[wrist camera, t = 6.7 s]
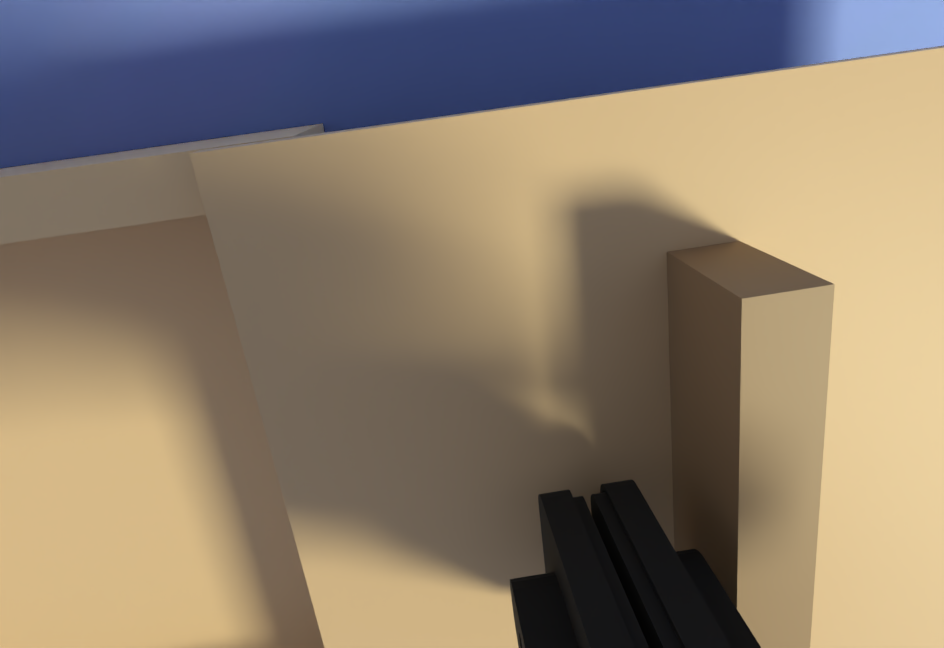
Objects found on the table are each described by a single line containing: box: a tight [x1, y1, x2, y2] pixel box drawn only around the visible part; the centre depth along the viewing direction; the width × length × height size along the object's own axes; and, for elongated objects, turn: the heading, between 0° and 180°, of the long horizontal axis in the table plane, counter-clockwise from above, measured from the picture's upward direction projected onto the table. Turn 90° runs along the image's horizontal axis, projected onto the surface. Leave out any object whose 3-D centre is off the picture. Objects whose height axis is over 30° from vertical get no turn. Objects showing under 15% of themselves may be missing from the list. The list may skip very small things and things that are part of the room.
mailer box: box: [0, 123, 325, 648], centre depth 14 cm, size 15×15×4 cm
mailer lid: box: [190, 46, 944, 648], centre depth 11 cm, size 15×15×3 cm
